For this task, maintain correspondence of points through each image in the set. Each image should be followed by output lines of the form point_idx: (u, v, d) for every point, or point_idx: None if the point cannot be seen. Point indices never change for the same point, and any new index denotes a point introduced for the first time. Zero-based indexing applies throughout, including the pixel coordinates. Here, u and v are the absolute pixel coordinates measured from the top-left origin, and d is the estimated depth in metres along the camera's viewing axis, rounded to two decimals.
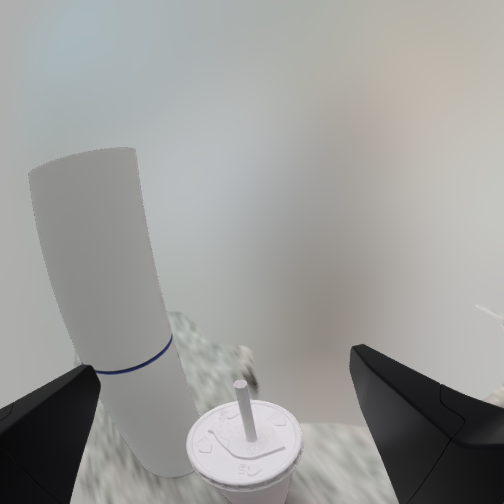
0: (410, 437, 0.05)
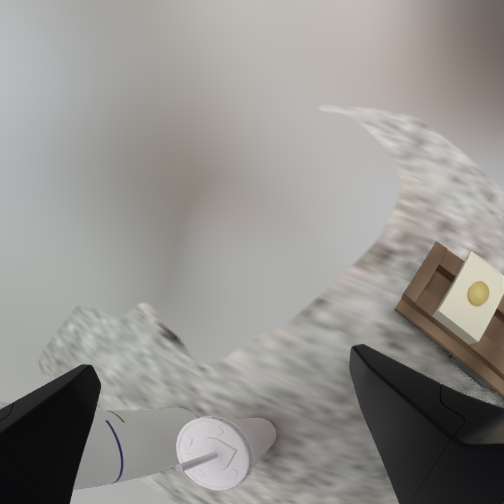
0: (410, 437, 0.05)
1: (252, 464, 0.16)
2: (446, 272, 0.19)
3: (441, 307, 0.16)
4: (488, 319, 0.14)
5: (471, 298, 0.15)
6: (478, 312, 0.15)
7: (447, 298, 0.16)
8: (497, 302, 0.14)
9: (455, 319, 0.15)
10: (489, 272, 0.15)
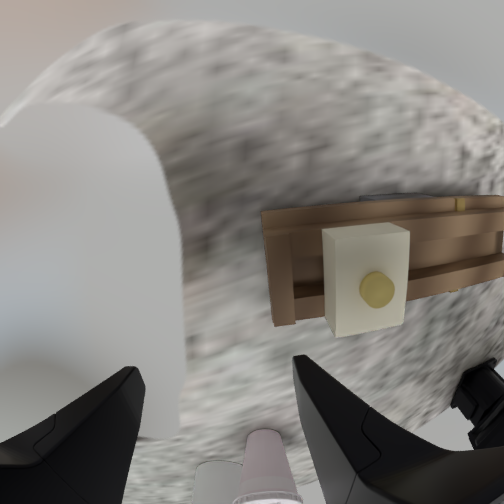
0: (330, 460, 0.05)
1: (296, 494, 0.18)
2: None
3: (337, 332, 0.14)
4: (403, 296, 0.13)
5: (372, 306, 0.13)
6: None
7: (338, 320, 0.14)
8: (405, 271, 0.13)
9: (362, 329, 0.14)
10: (377, 246, 0.13)
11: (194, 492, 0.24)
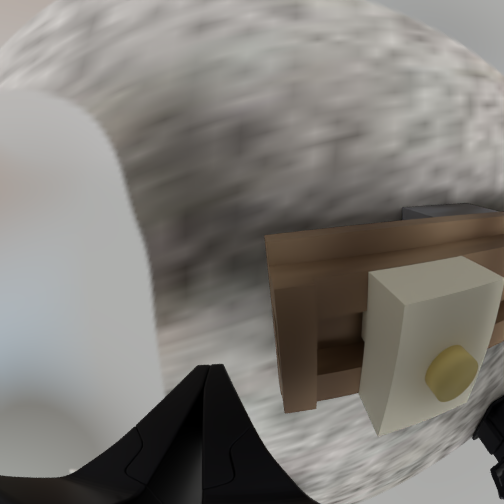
0: None
1: None
2: None
3: (381, 430, 0.07)
4: (477, 369, 0.07)
5: (441, 399, 0.06)
6: None
7: (386, 416, 0.07)
8: (488, 336, 0.07)
9: (416, 421, 0.07)
10: (463, 307, 0.06)
11: None
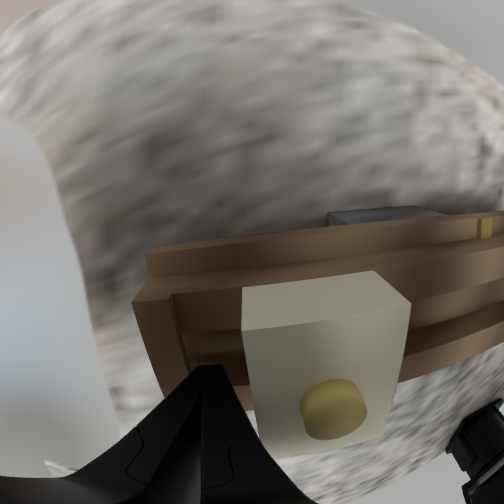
0: None
1: None
2: None
3: None
4: (386, 405, 0.07)
5: None
6: None
7: (264, 442, 0.07)
8: (395, 371, 0.07)
9: (309, 450, 0.07)
10: (338, 338, 0.06)
11: None
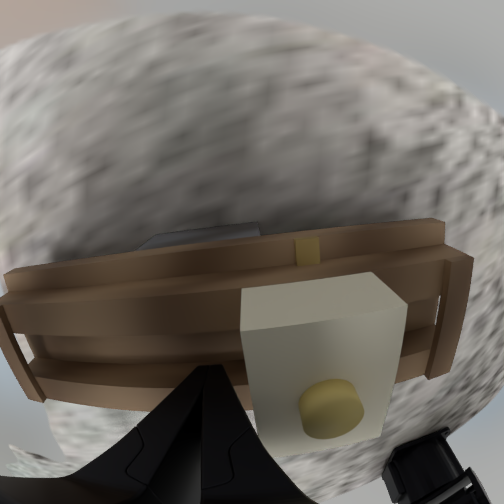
0: None
1: None
2: None
3: None
4: (384, 405, 0.07)
5: None
6: None
7: (263, 441, 0.07)
8: (392, 371, 0.07)
9: (307, 449, 0.08)
10: (335, 338, 0.06)
11: None
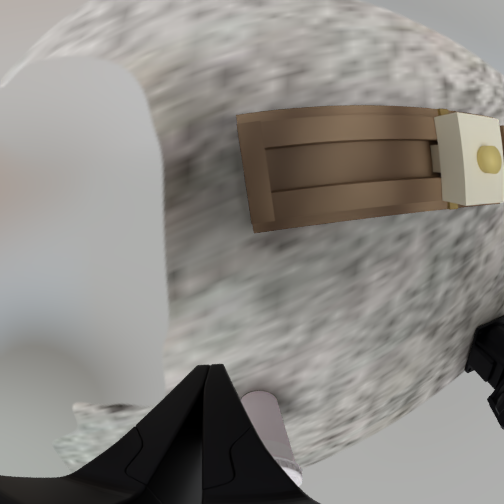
0: None
1: (292, 462, 0.16)
2: (280, 146, 0.15)
3: (466, 200, 0.12)
4: (503, 174, 0.12)
5: (490, 172, 0.11)
6: (494, 175, 0.12)
7: (466, 186, 0.12)
8: (501, 151, 0.11)
9: (482, 200, 0.12)
10: (482, 124, 0.11)
11: None
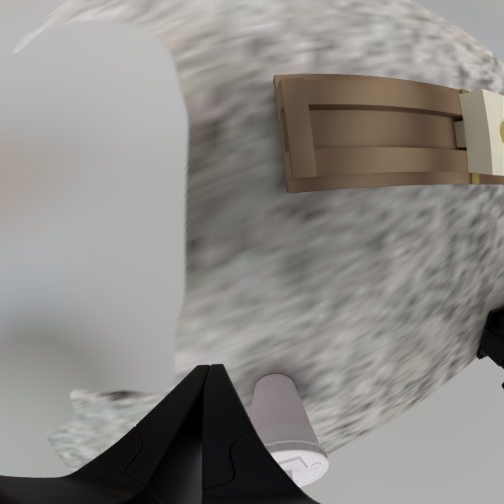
0: None
1: (320, 447, 0.16)
2: (321, 106, 0.14)
3: (492, 169, 0.12)
4: None
5: None
6: None
7: (492, 156, 0.11)
8: None
9: None
10: (503, 103, 0.10)
11: None
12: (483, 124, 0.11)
